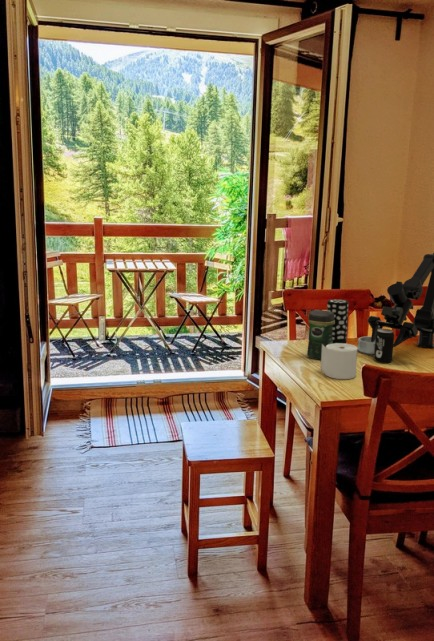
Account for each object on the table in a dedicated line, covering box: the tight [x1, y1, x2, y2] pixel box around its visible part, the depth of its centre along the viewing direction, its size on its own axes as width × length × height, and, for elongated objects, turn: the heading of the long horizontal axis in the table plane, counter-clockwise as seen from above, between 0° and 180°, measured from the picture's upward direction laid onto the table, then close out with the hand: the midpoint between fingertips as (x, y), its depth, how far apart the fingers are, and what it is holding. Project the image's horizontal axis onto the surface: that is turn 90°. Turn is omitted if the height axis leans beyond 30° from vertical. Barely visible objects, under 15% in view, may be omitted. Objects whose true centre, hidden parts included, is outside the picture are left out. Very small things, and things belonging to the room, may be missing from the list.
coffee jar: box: [306, 309, 335, 361], centre depth 208 cm, size 10×8×19 cm
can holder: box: [357, 335, 376, 356], centre depth 218 cm, size 12×12×5 cm
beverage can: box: [373, 328, 395, 364], centre depth 204 cm, size 7×7×12 cm
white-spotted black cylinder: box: [326, 298, 349, 344], centre depth 219 cm, size 8×8×20 cm
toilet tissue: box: [320, 343, 358, 380], centre depth 188 cm, size 11×12×10 cm
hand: (382, 344), depth 203 cm, fingers open, 9 cm apart
